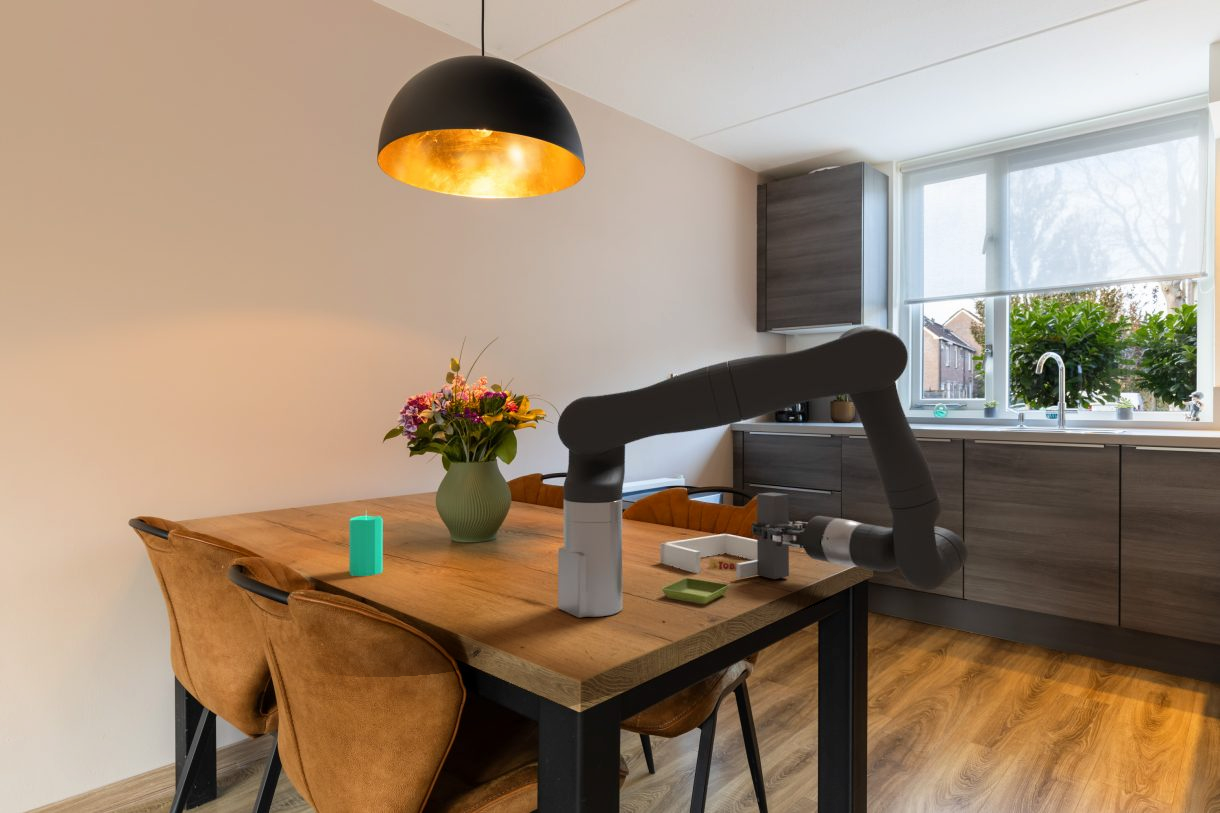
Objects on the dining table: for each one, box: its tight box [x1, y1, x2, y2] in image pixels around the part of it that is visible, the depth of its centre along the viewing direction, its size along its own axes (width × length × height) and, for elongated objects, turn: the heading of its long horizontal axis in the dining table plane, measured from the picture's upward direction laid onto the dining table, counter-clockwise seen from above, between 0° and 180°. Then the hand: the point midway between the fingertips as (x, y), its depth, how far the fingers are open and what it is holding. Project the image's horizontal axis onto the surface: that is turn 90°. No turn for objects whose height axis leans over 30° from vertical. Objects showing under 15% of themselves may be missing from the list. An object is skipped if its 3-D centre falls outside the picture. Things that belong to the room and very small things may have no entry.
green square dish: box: [660, 577, 730, 605], centre depth 115 cm, size 9×9×2 cm
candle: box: [348, 509, 384, 577], centre depth 132 cm, size 6×6×12 cm
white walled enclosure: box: [660, 533, 757, 574], centre depth 141 cm, size 18×10×4 cm, turn 125°
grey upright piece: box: [735, 492, 790, 580], centre depth 128 cm, size 13×5×15 cm, turn 125°
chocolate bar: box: [708, 558, 749, 571], centre depth 134 cm, size 3×12×2 cm, turn 76°
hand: (761, 527), depth 130 cm, fingers closed on grey upright piece, 4 cm apart
